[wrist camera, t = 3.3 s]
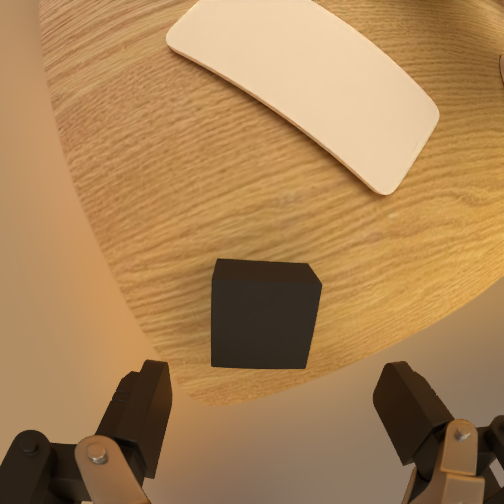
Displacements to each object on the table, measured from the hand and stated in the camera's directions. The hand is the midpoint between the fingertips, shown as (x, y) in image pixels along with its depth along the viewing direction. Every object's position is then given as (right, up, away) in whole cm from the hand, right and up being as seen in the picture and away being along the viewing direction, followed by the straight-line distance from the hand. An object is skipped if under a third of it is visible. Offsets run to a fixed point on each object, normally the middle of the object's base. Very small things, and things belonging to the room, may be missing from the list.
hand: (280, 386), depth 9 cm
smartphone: (+2, +15, +3) cm, 15 cm away
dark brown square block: (-1, +2, +7) cm, 7 cm away
